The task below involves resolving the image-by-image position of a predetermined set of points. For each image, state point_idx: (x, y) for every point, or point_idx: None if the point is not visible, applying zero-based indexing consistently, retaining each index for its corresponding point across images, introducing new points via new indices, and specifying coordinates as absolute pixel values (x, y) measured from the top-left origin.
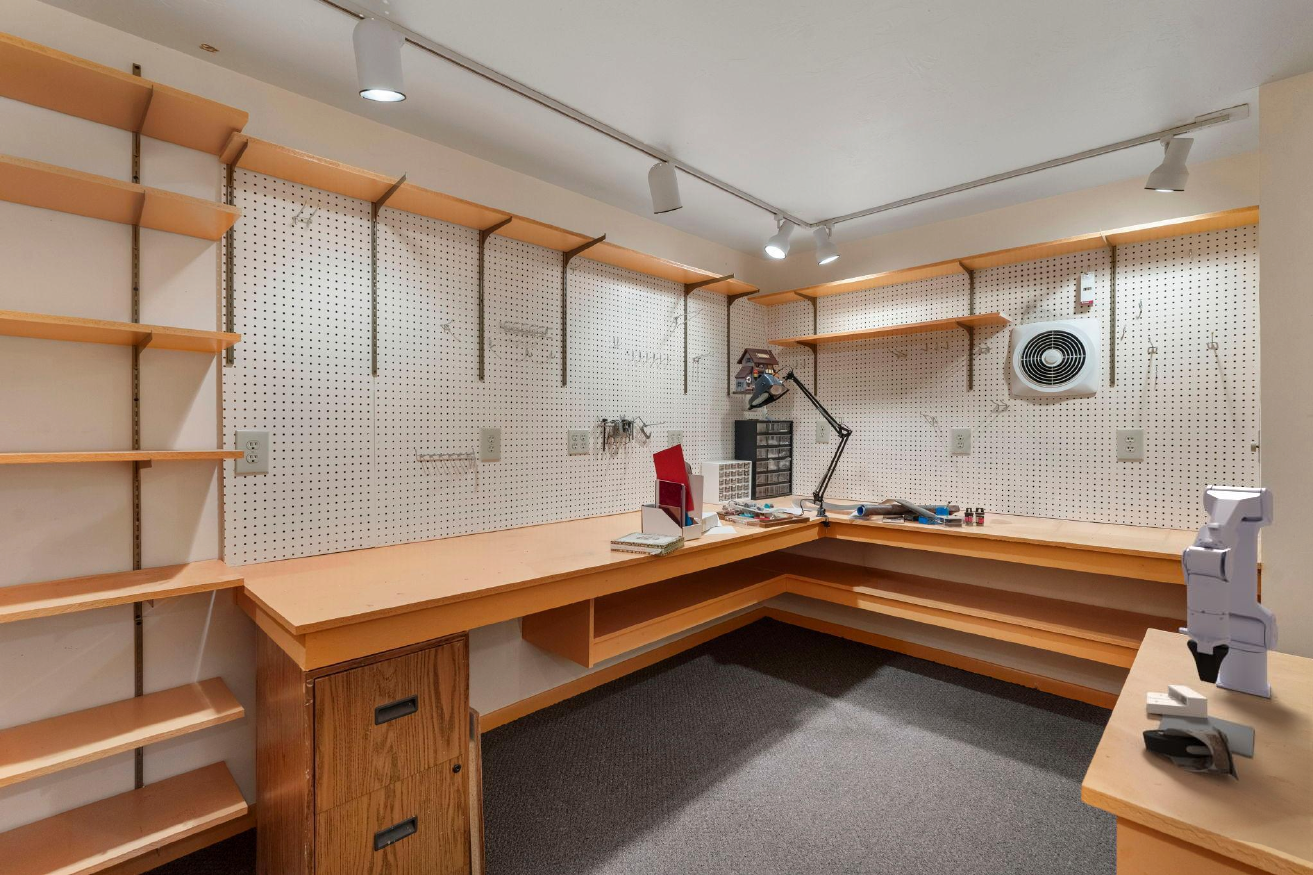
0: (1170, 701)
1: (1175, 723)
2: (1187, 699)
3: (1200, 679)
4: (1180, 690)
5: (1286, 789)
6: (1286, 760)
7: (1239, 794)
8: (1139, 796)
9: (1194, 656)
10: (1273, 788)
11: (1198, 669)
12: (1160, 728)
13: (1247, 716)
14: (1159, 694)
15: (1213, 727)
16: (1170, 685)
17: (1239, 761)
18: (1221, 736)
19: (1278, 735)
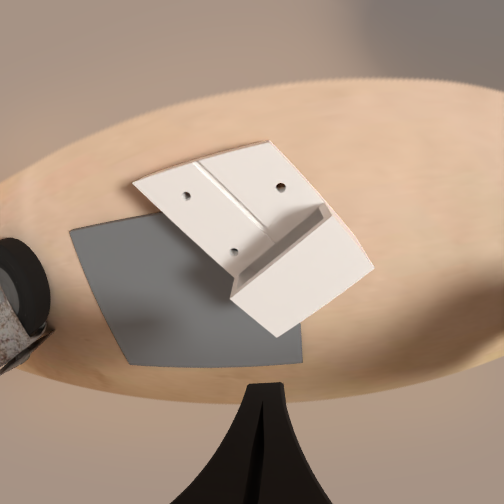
0: (235, 228)
1: (143, 249)
2: (232, 290)
3: (247, 387)
4: (295, 265)
5: (82, 379)
6: (182, 391)
7: None
8: None
9: (191, 486)
10: (69, 369)
11: (233, 426)
12: (77, 234)
13: (388, 337)
14: (282, 182)
15: (15, 365)
16: (333, 225)
17: (99, 347)
18: (4, 369)
19: (308, 382)
